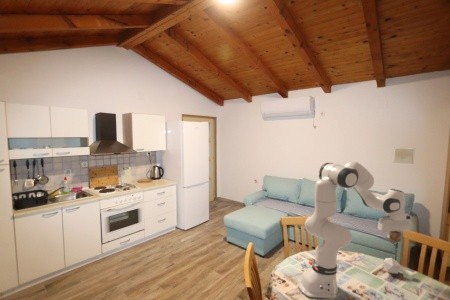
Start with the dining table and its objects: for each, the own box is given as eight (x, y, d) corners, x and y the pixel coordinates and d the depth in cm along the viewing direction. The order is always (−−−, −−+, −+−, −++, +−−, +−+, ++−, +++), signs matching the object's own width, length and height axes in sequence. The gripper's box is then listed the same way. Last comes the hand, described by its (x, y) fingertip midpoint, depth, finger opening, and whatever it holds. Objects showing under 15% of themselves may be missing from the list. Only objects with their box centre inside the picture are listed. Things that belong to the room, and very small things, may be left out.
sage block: (411, 281, 130) (411, 275, 130) (403, 277, 134) (403, 271, 134) (414, 279, 132) (414, 273, 132) (406, 275, 136) (406, 269, 136)
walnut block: (393, 242, 134) (394, 233, 133) (386, 238, 138) (386, 229, 138) (400, 241, 134) (401, 232, 134) (393, 237, 139) (393, 229, 139)
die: (403, 278, 133) (404, 262, 132) (386, 276, 135) (387, 260, 134) (395, 270, 141) (396, 255, 141) (379, 268, 143) (380, 253, 143)
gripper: (384, 218, 131) (383, 240, 132) (414, 216, 133) (412, 238, 135) (375, 214, 137) (374, 236, 138) (404, 212, 140) (403, 233, 141)
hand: (393, 237), depth 136 cm, fingers closed on walnut block, 5 cm apart
